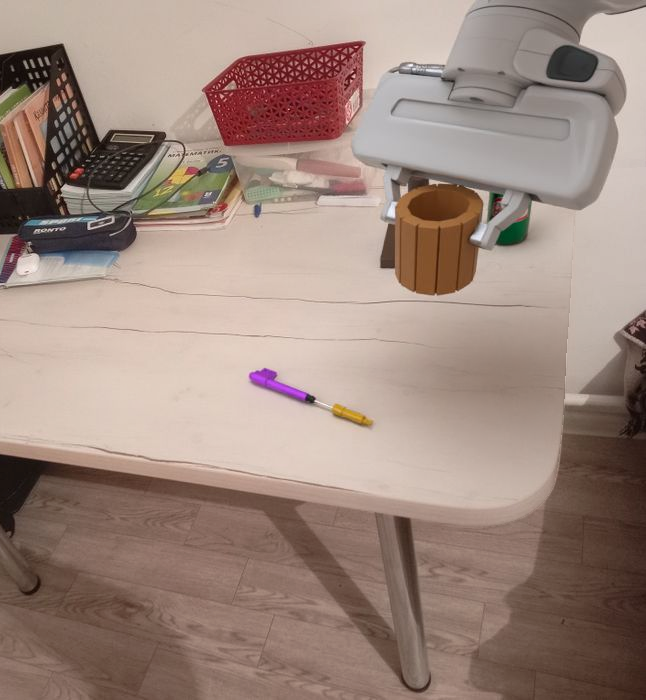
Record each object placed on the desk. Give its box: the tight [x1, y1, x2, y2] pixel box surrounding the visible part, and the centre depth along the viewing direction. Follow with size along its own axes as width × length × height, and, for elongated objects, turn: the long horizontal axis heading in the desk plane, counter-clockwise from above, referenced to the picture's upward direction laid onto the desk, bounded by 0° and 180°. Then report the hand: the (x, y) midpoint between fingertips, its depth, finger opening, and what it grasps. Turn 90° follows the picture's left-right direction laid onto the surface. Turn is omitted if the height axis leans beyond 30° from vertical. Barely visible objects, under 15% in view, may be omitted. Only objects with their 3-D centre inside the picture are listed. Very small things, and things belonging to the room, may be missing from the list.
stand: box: [379, 175, 430, 269], centre depth 83 cm, size 9×9×12 cm
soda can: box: [486, 192, 533, 245], centre depth 80 cm, size 5×5×12 cm
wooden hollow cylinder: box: [394, 183, 484, 297], centre depth 53 cm, size 7×7×7 cm
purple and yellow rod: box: [248, 367, 374, 426], centre depth 71 cm, size 3×1×16 cm
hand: (433, 234), depth 53 cm, fingers closed on wooden hollow cylinder, 7 cm apart
